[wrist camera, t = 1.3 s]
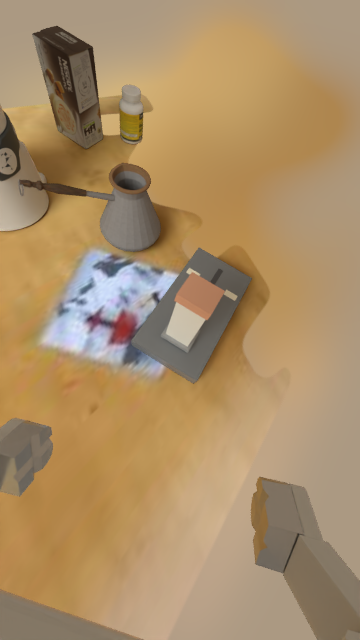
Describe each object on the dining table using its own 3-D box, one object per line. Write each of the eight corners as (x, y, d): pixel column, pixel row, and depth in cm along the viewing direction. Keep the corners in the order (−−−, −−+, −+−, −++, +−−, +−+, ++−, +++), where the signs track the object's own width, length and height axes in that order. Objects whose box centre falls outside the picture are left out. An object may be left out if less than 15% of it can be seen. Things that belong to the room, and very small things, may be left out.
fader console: (131, 345, 41) (131, 340, 38) (196, 255, 50) (199, 247, 48) (193, 383, 40) (197, 381, 38) (246, 285, 50) (252, 278, 47)
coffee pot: (146, 209, 53) (150, 135, 40) (168, 250, 50) (181, 185, 36) (42, 231, 47) (4, 151, 33) (58, 280, 43) (24, 213, 30)
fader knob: (160, 336, 39) (173, 293, 27) (173, 317, 41) (190, 269, 28) (187, 352, 39) (212, 317, 26) (198, 333, 41) (228, 291, 28)
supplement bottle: (142, 146, 61) (143, 99, 52) (120, 143, 60) (117, 94, 51) (142, 132, 63) (143, 85, 54) (120, 129, 62) (118, 80, 53)
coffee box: (104, 138, 60) (95, 46, 45) (86, 150, 57) (69, 56, 43) (75, 120, 61) (57, 24, 46) (56, 130, 58) (29, 32, 44)
